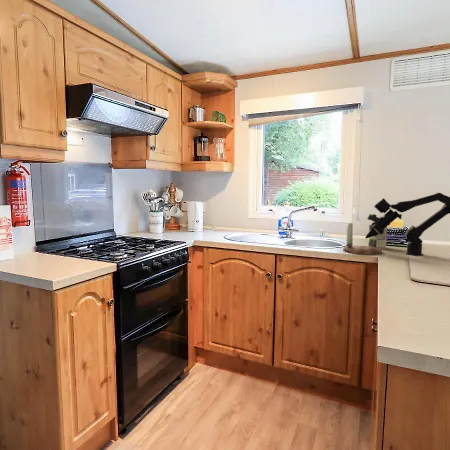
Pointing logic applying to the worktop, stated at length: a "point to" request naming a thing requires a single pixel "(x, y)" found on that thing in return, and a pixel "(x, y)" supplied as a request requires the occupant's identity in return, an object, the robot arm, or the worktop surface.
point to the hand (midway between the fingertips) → (365, 237)
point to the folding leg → (350, 233)
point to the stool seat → (362, 250)
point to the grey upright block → (378, 239)
